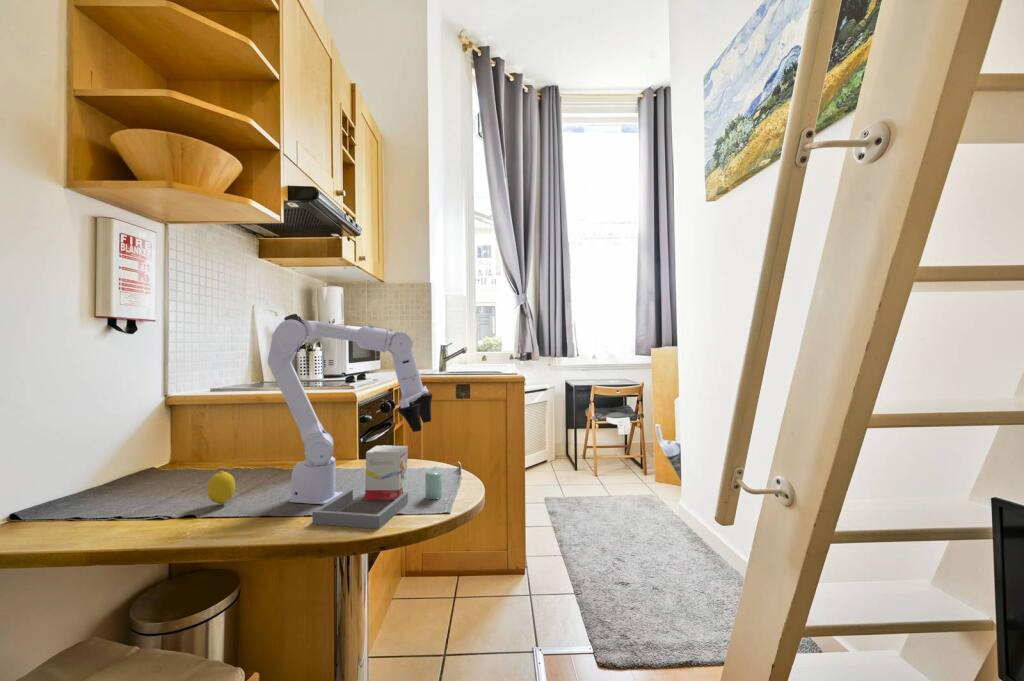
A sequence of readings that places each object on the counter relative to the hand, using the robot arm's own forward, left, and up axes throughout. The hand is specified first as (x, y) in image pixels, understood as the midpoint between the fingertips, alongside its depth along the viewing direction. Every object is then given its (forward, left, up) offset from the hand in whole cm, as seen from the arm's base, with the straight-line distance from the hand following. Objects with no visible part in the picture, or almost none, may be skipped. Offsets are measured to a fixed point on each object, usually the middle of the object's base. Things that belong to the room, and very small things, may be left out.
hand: (422, 426), depth 122 cm
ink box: (-7, -7, -16) cm, 19 cm away
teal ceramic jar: (+5, -7, -16) cm, 18 cm away
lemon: (-42, -21, -16) cm, 49 cm away
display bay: (-7, -20, -16) cm, 26 cm away
